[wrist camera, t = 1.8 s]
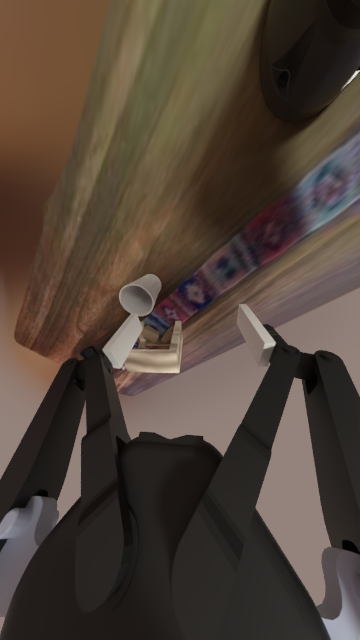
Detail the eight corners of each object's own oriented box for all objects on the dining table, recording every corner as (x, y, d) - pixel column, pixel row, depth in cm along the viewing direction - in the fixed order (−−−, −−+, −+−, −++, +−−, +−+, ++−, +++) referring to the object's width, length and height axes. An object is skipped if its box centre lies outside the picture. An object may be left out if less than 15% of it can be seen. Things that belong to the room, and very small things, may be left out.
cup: (158, 301, 42) (146, 321, 32) (135, 289, 40) (115, 306, 30) (168, 279, 37) (159, 295, 27) (143, 265, 36) (123, 277, 26)
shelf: (138, 321, 47) (118, 352, 35) (181, 320, 45) (176, 353, 33) (143, 339, 52) (128, 371, 39) (182, 338, 50) (179, 373, 37)
